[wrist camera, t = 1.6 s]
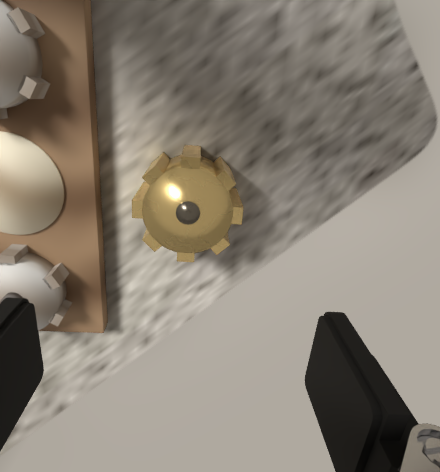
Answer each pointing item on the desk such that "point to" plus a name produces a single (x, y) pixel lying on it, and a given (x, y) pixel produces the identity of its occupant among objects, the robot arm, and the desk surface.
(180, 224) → the brass gear
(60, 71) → the gear board
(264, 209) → the desk surface
